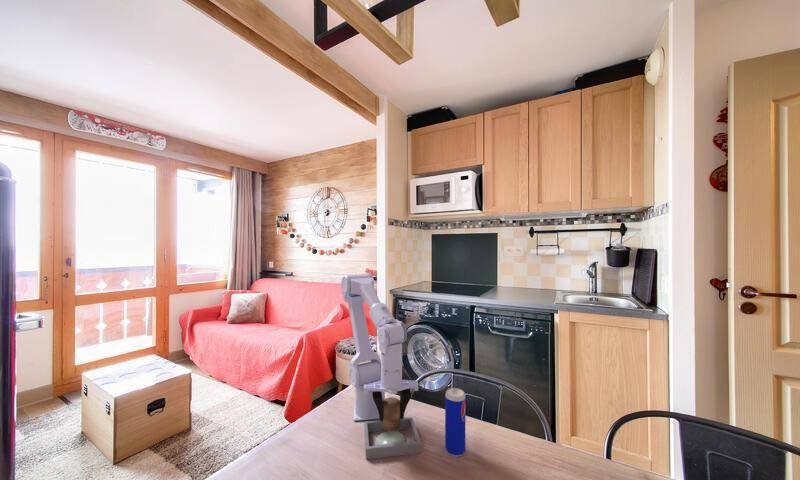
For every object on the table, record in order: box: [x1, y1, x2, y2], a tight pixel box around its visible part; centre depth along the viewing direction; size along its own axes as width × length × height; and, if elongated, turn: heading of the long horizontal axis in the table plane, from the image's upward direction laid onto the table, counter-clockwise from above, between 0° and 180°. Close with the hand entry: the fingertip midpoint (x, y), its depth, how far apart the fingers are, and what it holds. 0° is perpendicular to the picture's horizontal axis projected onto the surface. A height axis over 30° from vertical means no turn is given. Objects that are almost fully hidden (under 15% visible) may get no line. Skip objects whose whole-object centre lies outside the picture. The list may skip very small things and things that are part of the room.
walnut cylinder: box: [382, 397, 401, 431], centre depth 77 cm, size 5×5×6 cm
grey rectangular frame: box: [363, 416, 422, 460], centre depth 77 cm, size 14×11×2 cm
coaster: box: [376, 430, 406, 446], centre depth 77 cm, size 8×8×1 cm
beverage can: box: [444, 387, 467, 458], centre depth 74 cm, size 5×5×15 cm
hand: (391, 418), depth 77 cm, fingers closed on walnut cylinder, 5 cm apart
